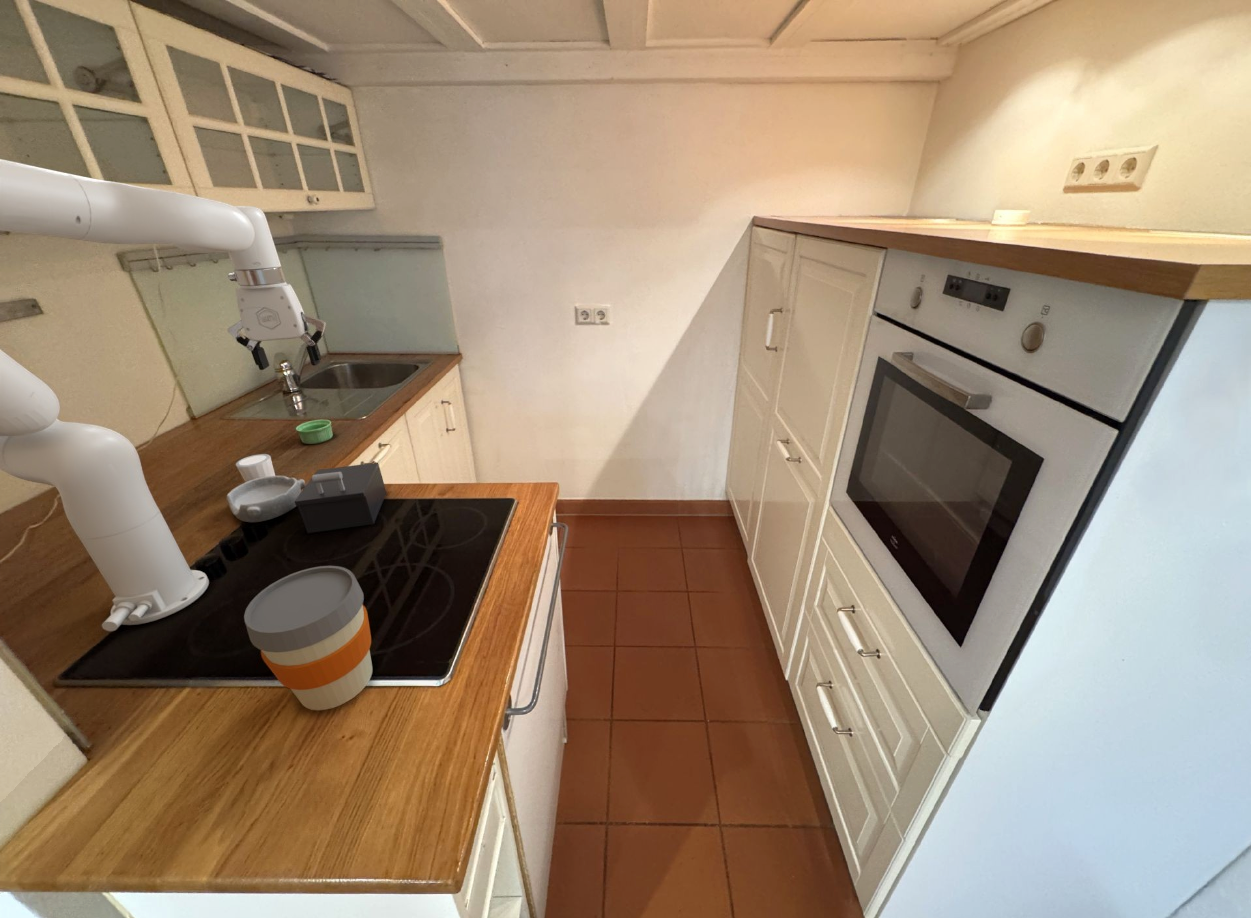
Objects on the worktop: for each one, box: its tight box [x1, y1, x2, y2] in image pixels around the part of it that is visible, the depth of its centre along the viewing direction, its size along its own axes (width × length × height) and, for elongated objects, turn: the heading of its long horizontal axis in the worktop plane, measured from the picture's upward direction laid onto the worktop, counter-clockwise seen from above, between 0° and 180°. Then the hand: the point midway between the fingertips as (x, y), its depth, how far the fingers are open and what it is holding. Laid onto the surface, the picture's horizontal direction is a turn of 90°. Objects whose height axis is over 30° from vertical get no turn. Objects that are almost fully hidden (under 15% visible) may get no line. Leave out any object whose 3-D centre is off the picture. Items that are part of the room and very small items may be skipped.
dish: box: [226, 475, 307, 523], centre depth 110 cm, size 14×14×5 cm
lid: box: [294, 462, 380, 507], centre depth 104 cm, size 14×13×5 cm
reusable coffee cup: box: [243, 565, 373, 711], centre depth 65 cm, size 13×12×15 cm
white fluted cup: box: [235, 453, 276, 483], centre depth 119 cm, size 7×7×7 cm
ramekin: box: [295, 419, 334, 445], centre depth 145 cm, size 9×9×4 cm
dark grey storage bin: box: [297, 466, 388, 534], centre depth 107 cm, size 14×13×7 cm
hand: (290, 366), depth 103 cm, fingers open, 9 cm apart
